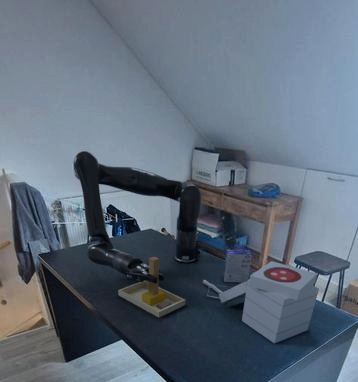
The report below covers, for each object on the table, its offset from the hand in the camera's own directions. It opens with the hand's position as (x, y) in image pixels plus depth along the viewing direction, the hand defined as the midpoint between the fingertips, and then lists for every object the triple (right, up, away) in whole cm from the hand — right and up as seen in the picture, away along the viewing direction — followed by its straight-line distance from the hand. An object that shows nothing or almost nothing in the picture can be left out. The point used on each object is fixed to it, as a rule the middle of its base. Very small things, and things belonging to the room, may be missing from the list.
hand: (159, 279), depth 113 cm
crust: (+1, -9, +3) cm, 10 cm away
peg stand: (-3, -7, +7) cm, 10 cm away
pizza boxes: (+34, -13, +1) cm, 37 cm away
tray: (-4, -7, +8) cm, 11 cm away
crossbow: (+21, -3, +17) cm, 27 cm away
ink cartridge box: (+30, +3, +26) cm, 40 cm away
